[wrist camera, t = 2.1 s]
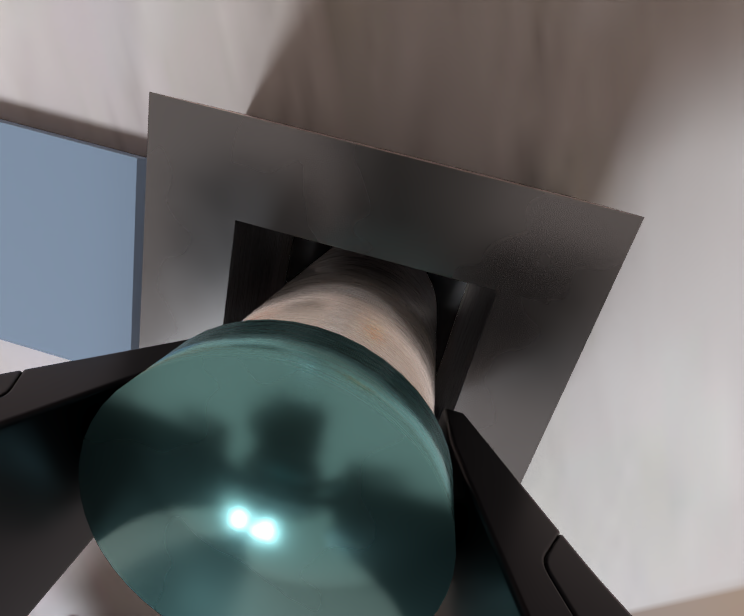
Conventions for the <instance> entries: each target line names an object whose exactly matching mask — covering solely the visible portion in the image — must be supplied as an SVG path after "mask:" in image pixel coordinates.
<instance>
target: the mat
mask: <svg viewBox="0 0 744 616" xmlns="http://www.w3.org/2000/svg"><path fill="white" fill-rule="evenodd" d="M146 165H147V158H146V157H142V156H139V155H135V154H131V153H127V152H123V151H120V150H116V149H112V148H108V147H104V146H101V145H97V144H93V143H89V142H85V141H82V140H78V139H74V138H70V137H67V136H63V135H59V134H55V133H51V132H48V131H44V130H40V129H36V128H32V127H29V126H25V125H21V124H17V123H13V122H10V121H6V120H2V119H0V339H1V340H4V341H8V342H11V343H14V344H18V345H21V346H25V347H28V348H31V349H35V350H38V351H41V352H45V353H48V354H51V355H55V356H58V357H61V358H65V359H68V360H72V361H74V360H80V359H85V358H91V357H96V356H101V355H107V354H112V353H117V352H123V351H128V350H134V349H139V340H140V315H141V290H142V265H143V240H144V215H145V190H146Z"/></svg>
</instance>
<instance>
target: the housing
mask: <svg viewBox="0 0 744 616" xmlns="http://www.w3.org/2000/svg"><path fill="white" fill-rule="evenodd" d="M643 219H644V217H642V216H638V215H634V214H631V213H627V212H624V211H620V210H617V209H613V208H609V207H606V206H602V205H599V204H595V203H591V202H588V201H584V200H581V199H577V198H573V197H570V196H566V195H562V194H558V193H554V192H550V191H546V190H542V189H538V188H534V187H530V186H526V185H522V184H518V183H514V182H510V181H506V180H502V179H498V178H494V177H491V176H487V175H483V174H479V173H475V172H471V171H467V170H463V169H459V168H455V167H451V166H447V165H443V164H439V163H435V162H431V161H427V160H423V159H419V158H416V157H412V156H408V155H404V154H400V153H396V152H392V151H388V150H384V149H380V148H376V147H372V146H368V145H364V144H360V143H356V142H352V141H348V140H344V139H340V138H337V137H333V136H329V135H325V134H321V133H317V132H313V131H309V130H305V129H301V128H297V127H293V126H289V125H285V124H281V123H277V122H273V121H269V120H265V119H262V118H258V117H254V116H250V115H246V114H242V113H237V112H233V111H229V110H225V109H220V108H216V107H212V106H208V105H203V104H199V103H195V102H191V101H186V100H182V99H178V98H174V97H169V96H165V95H161V94H157V93H152V92H149V115H148V140H147V165H146V190H145V215H144V240H143V265H142V290H141V315H140V340H139V348H144V347H150V346H155V345H160V344H166V343H171V342H177V341H182V340H187V339H190V338H192V337H194V336H196V335H198V334H200V333H202V332H204V331H206V330H209V329H212V328H215V327H218V326H221V325H224V324H228V323H234V322H240V321H242V320H243V319H244V318H246V317H247V316H248V315H249V314H251V313H252V312H253V311H254V310H255V309H257V308H258V307H259V306H260V305H262V304H263V303H264V302H265V301H266V300H268V299H269V298H270V297H271V296H273V295H274V294H275V293H276V292H278V291H279V290H280V289H281V288H282V287H284V286H285V283H286V277H287V272H288V266H289V260H290V254H291V248H292V242H293V236H297V237H300V238H304V239H308V240H311V241H315V242H319V243H323V244H326V245H330V246H334V247H337V248H341V249H345V250H349V251H352V252H356V253H360V254H363V255H367V256H371V257H375V258H378V259H382V260H386V261H389V262H393V263H397V264H401V265H404V266H408V267H412V268H415V269H419V270H423V271H426V272H430V273H434V274H438V275H441V276H445V277H449V278H452V279H456V280H460V281H464V282H467V285H466V288H465V291H464V294H463V297H462V300H461V303H460V306H459V309H458V312H457V315H456V318H455V321H454V324H453V327H452V330H451V333H450V336H449V339H448V342H447V345H446V348H445V351H444V354H443V357H442V361H441V364H440V367H439V370H438V373H437V376H436V379H435V414H434V415H435V417H436V419H437V421H438V423H439V420H440V417H441V415H442V412H443V411H444V410H445V409H450V410H454V411H457V412H461V413H463V414H464V415H465V416H466V417H467V418H468V420H469V421H470V422H471V423H472V424H473V426H474V427H475V428H476V429H477V431H478V432H479V433H480V434H481V436H482V437H483V438H484V439H485V440H486V442H487V443H488V444H489V445H490V447H491V448H492V449H493V450H494V452H495V453H496V454H497V455H498V457H499V458H500V459H501V460H502V461H503V463H504V464H505V465H506V466H507V468H508V469H509V470H510V471H511V473H512V474H513V475H514V476H515V477H516V479H517V480H518V481H519V482H520V484H521V481H522V479H523V477H524V475H525V473H526V471H527V469H528V466H529V464H530V462H531V460H532V458H533V456H534V453H535V451H536V449H537V447H538V445H539V443H540V441H541V438H542V436H543V434H544V432H545V430H546V428H547V425H548V423H549V421H550V419H551V417H552V415H553V413H554V410H555V408H556V406H557V404H558V402H559V400H560V397H561V395H562V393H563V391H564V389H565V387H566V385H567V382H568V380H569V378H570V376H571V374H572V372H573V369H574V367H575V365H576V363H577V361H578V359H579V357H580V354H581V352H582V350H583V348H584V346H585V344H586V341H587V339H588V337H589V335H590V333H591V331H592V329H593V326H594V324H595V322H596V320H597V318H598V316H599V314H600V311H601V309H602V307H603V305H604V303H605V301H606V298H607V296H608V294H609V292H610V290H611V288H612V286H613V283H614V281H615V279H616V277H617V275H618V273H619V270H620V268H621V266H622V264H623V262H624V260H625V258H626V255H627V253H628V251H629V249H630V247H631V245H632V242H633V240H634V238H635V236H636V234H637V232H638V230H639V227H640V225H641V223H642V221H643Z"/></svg>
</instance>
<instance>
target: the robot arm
mask: <svg viewBox="0 0 744 616" xmlns="http://www.w3.org/2000/svg"><path fill="white" fill-rule="evenodd" d="M187 340H188V339H187ZM187 340H182V341H177V342H171V343H166V344H160V345H155V346H150V347H144V348H139V349H134V350H128V351H123V352H117V353H112V354H107V355H101V356H96V357H91V358H85V359H80V360H74V361H69V362H64V363H58V364H53V365H48V366H42V367H37V368H31V369H26V370H24V371H23V372H21V371H15V372H9V373H4V374H0V616H28V615H29V613H30V612H31V611H32V610H33V609H34V607H35V606H36V605H37V604H38V603H39V602H40V600H41V599H42V598H43V597H44V596H45V594H46V593H47V592H48V591H49V590H50V588H51V587H52V586H53V585H54V584H55V583H56V581H57V580H58V579H59V578H60V577H61V575H62V574H63V573H64V572H65V571H66V570H67V568H68V567H69V566H70V565H71V564H72V562H73V561H74V560H75V559H76V558H77V557H78V555H79V554H80V553H81V552H82V551H83V549H84V548H85V547H86V546H87V545H88V544H89V542H90V541H91V540H92V539H93V538H94V536H93V534H92V532H91V530H90V527H89V524H88V522H87V519H86V517H85V514H84V510H83V506H82V502H81V498H80V490H79V480H78V471H79V457H80V452H81V448H82V444H83V439H84V437H85V435H86V432H87V430H88V428H89V425H90V423H91V421H92V420H93V418H94V417H95V415H96V414H97V412H98V411H99V409H100V408H101V406H102V405H103V404H104V403H105V402H106V401H107V400H108V399H109V398H110V397H111V396H112V395H113V394H114V393H115V392H116V391H117V390H118V389H120V388H121V387H122V386H124V385H125V384H127V383H128V382H129V381H131V380H132V379H134V378H135V377H136V376H138V375H139V374H141V373H142V372H143V371H145V370H146V369H148V368H149V367H150V366H152V365H153V364H155V363H156V362H157V361H159V360H160V359H162V358H163V357H164V356H166V355H167V354H169V353H170V352H171V351H173V350H174V349H176V348H177V347H178V346H180V345H181V344H183V343H184V342H185V341H187ZM439 425H440V426H441V428H442V431H443V434H444V437H445V439H446V442H447V445H448V448H449V452H450V457H451V462H452V469H453V493H454V518H455V543H456V559H455V566H454V573H453V577H452V580H451V583H450V586H449V589H448V592H447V595H446V596H445V598H444V600H443V602H442V604H441V605H440V607H439V609H438V611H437V612H436V613H435V614H434V616H632V615H631V614H630V613H629V612H628V611H627V610H626V609H625V607H624V606H623V605H622V604H621V603H620V602H619V601H618V600H617V599H616V597H615V596H614V595H613V594H612V593H611V592H610V591H609V590H608V589H607V588H606V586H605V585H604V584H603V583H602V582H601V581H600V580H599V579H598V577H597V576H596V575H595V574H594V573H593V571H592V570H591V569H590V568H589V567H588V565H587V564H586V563H585V562H584V561H583V560H582V558H581V557H580V556H579V555H578V554H577V552H576V551H575V550H574V549H573V548H572V546H571V545H570V544H569V543H568V541H567V540H566V539H565V538H564V536H563V535H559V534H560V532H559V530H558V529H557V528H556V527H555V526H554V524H553V523H552V522H551V521H550V519H549V518H548V517H547V516H546V514H545V513H544V512H543V511H542V510H541V508H540V507H539V506H538V505H537V503H536V502H535V501H534V500H533V498H532V497H531V496H530V495H529V493H528V492H527V491H526V490H525V489H524V487H523V486H522V485H521V484H520V482H519V481H518V480H517V479H516V477H515V476H514V475H513V474H512V473H511V471H510V470H509V469H508V468H507V466H506V465H505V464H504V463H503V461H502V460H501V459H500V458H499V457H498V455H497V454H496V453H495V452H494V450H493V449H492V448H491V447H490V445H489V444H488V443H487V442H486V440H485V439H484V438H483V437H482V436H481V434H480V433H479V432H478V431H477V429H476V428H475V427H474V426H473V424H472V423H471V422H470V421H469V420H468V418H467V417H466V416H465V415H464V414H463V413H461V412H457V411H454V410H450V409H445V410H444V411H443V412H442V415H441V417H440V420H439Z"/></svg>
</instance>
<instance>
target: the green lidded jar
mask: <svg viewBox="0 0 744 616" xmlns="http://www.w3.org/2000/svg"><path fill="white" fill-rule="evenodd" d="M436 320H437V305H436V296H435V291H434V288H433V285H432V283H431V281H430V279H429V277H428V275H427V273H426V272H425V271H423V270H419V269H415V268H412V267H408V266H404V265H401V264H397V263H393V262H389V261H386V260H382V259H378V258H375V257H371V256H367V255H363V254H360V253H356V252H352V251H349V250H345V249H341V248H337V247H334V248H332V249H330V250H329V251H327V252H326V253H324V254H323V255H322V256H321V257H319V258H318V259H317V260H316V261H314V262H313V263H312V264H311V265H309V266H308V267H307V268H306V269H305V270H303V271H302V272H301V273H300V274H298V275H297V276H296V277H295V278H293V279H292V280H291V281H290V282H289V283H287V284H286V285H285V286H284V287H282V288H281V289H280V290H279V291H278V292H276V293H275V294H274V295H273V296H271V297H270V298H269V299H268V300H266V301H265V302H264V303H263V304H262V305H260V306H259V307H258V308H257V309H255V310H254V311H253V312H252V313H251V314H249V315H248V316H247V317H246V318H244V319H243V320H242V321H240V322H234V323H228V324H224V325H221V326H218V327H215V328H212V329H209V330H206V331H204V332H202V333H200V334H198V335H196V336H194V337H192V338H190V339H188V340H187V341H185V342H184V343H183V344H181V345H180V346H178V347H177V348H176V349H174V350H173V351H171V352H170V353H169V354H167V355H166V356H164V357H163V358H162V359H160V360H159V361H157V362H156V363H155V364H153V365H152V366H150V367H149V368H148V369H146V370H145V371H143V372H142V373H141V374H139V375H138V376H136V377H135V378H134V379H132V380H131V381H129V382H128V383H127V384H125V385H124V386H122V387H121V388H120V389H118V390H117V391H116V392H115V393H114V394H113V395H112V396H111V397H110V398H109V399H108V400H107V401H106V402H105V403H104V404H103V405H102V406H101V408H100V409H99V411H98V412H97V414H96V415H95V417H94V418H93V420H92V421H91V423H90V425H89V428H88V430H87V432H86V435H85V437H84V439H83V444H82V448H81V452H80V457H79V471H78V480H79V490H80V498H81V502H82V506H83V510H84V514H85V517H86V519H87V522H88V524H89V527H90V530H91V532H92V534H93V536H94V538H95V540H96V542H97V544H98V546H99V547H100V549H101V551H102V553H103V554H104V556H105V557H106V559H107V560H108V561H109V563H110V564H111V566H112V567H113V569H114V570H115V571H116V572H117V573H118V575H119V576H120V577H121V578H122V579H123V581H124V582H125V583H126V584H127V585H128V586H129V587H130V588H131V589H132V590H133V591H134V592H135V593H136V594H137V595H138V596H139V597H140V598H141V599H142V600H143V601H144V602H146V603H147V604H148V605H149V606H150V607H152V608H153V609H154V610H155V611H156V612H158V613H159V614H160V615H162V616H434V614H435V613H436V612H437V611H438V609H439V607H440V605H441V604H442V602H443V600H444V598H445V596H446V595H447V592H448V589H449V586H450V583H451V580H452V577H453V573H454V566H455V559H456V543H455V518H454V493H453V469H452V462H451V457H450V452H449V448H448V445H447V442H446V439H445V437H444V434H443V431H442V428H441V426H440V425H439V423H438V421H437V419H436V417H435V415H434V414H435V367H436Z"/></svg>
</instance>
